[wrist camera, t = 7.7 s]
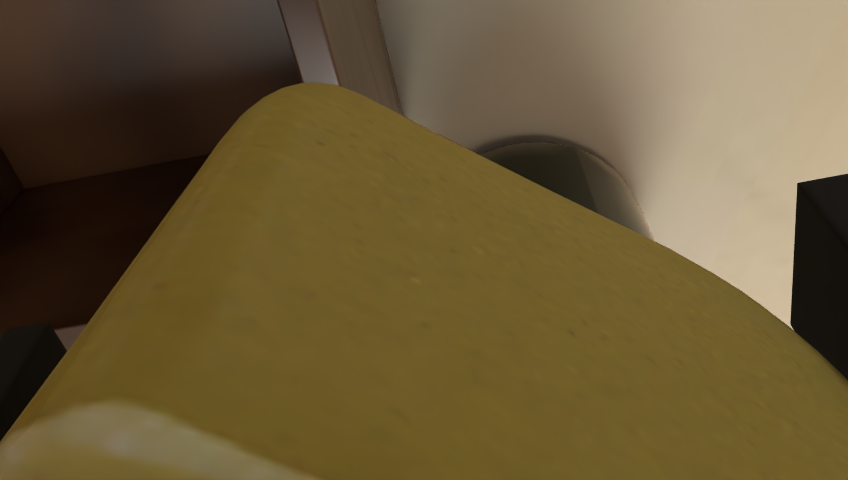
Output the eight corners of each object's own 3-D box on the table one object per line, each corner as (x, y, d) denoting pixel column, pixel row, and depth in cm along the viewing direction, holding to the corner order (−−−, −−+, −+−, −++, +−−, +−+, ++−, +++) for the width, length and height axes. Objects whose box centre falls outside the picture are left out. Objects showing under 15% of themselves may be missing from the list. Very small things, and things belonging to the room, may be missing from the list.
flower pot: (782, 189, 13) (1275, 833, 6) (499, 492, 17) (563, 1089, 10) (294, -86, 11) (0, 401, 3) (103, 345, 15) (-215, 992, 7)
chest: (310, -273, 26) (244, -264, 16) (405, 128, 34) (400, 298, 24) (-176, -154, 28) (-502, -80, 18) (24, 200, 36) (-126, 384, 26)
